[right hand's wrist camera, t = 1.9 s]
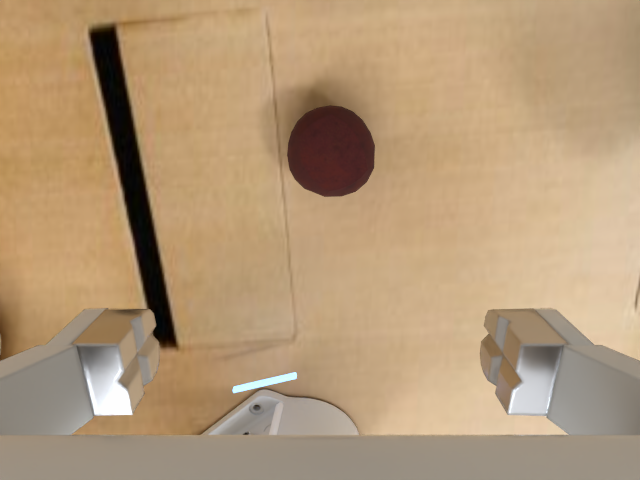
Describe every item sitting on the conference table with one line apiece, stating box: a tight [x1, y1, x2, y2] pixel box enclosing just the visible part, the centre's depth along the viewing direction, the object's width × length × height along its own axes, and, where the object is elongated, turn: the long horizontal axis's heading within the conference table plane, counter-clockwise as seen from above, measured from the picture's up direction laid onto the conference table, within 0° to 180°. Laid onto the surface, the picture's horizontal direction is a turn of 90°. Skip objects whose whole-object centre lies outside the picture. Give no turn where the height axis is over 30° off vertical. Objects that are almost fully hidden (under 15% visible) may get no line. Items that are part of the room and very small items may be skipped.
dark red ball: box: [287, 106, 375, 197], centre depth 35 cm, size 7×8×7 cm
